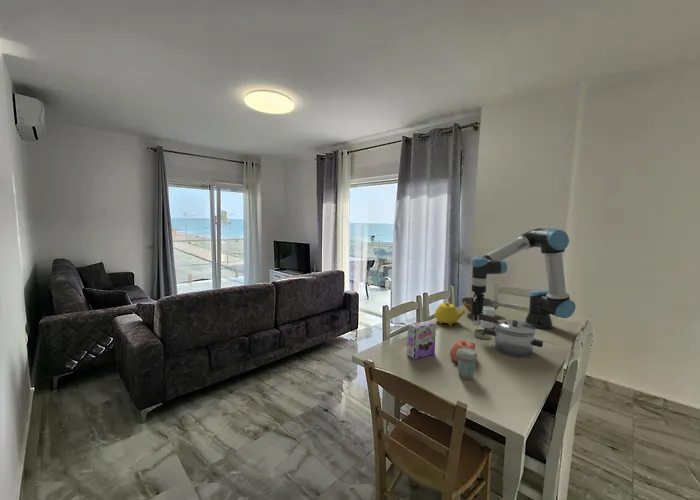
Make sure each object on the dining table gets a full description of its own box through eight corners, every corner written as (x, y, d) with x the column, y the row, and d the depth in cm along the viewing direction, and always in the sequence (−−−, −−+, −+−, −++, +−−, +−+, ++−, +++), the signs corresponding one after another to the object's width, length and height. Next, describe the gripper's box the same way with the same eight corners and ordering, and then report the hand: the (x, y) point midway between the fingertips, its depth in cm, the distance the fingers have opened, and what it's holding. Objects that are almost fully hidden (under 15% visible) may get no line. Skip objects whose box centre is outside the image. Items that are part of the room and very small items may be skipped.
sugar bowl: (444, 357, 153) (445, 337, 151) (466, 352, 158) (467, 334, 157) (461, 368, 141) (462, 347, 140) (484, 363, 146) (485, 343, 145)
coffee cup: (452, 372, 138) (453, 347, 137) (470, 371, 139) (471, 346, 137) (460, 382, 129) (461, 355, 128) (479, 381, 130) (481, 355, 129)
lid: (539, 327, 160) (539, 320, 160) (530, 337, 147) (531, 330, 146) (477, 313, 182) (477, 308, 182) (464, 321, 169) (464, 315, 168)
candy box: (414, 360, 149) (415, 328, 148) (406, 355, 155) (407, 324, 153) (435, 354, 156) (436, 323, 154) (427, 349, 161) (428, 320, 159)
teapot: (467, 322, 203) (468, 302, 201) (463, 329, 190) (464, 308, 188) (438, 317, 213) (438, 298, 212) (431, 323, 200) (432, 303, 199)
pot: (544, 351, 160) (546, 329, 159) (538, 363, 146) (540, 340, 145) (488, 337, 178) (489, 317, 177) (478, 347, 164) (479, 326, 163)
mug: (488, 330, 188) (489, 312, 187) (475, 327, 194) (476, 308, 193) (496, 326, 196) (497, 308, 195) (483, 322, 202) (484, 305, 201)
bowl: (454, 314, 219) (455, 301, 218) (470, 307, 236) (471, 295, 235) (489, 323, 201) (490, 309, 200) (504, 315, 218) (505, 301, 216)
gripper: (477, 281, 179) (475, 319, 182) (467, 286, 168) (465, 327, 170) (490, 283, 174) (488, 322, 177) (480, 288, 163) (478, 330, 165)
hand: (476, 324), depth 174 cm, fingers open, 3 cm apart
